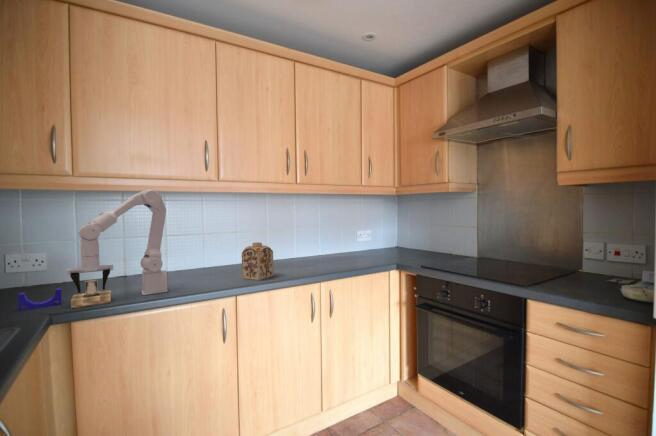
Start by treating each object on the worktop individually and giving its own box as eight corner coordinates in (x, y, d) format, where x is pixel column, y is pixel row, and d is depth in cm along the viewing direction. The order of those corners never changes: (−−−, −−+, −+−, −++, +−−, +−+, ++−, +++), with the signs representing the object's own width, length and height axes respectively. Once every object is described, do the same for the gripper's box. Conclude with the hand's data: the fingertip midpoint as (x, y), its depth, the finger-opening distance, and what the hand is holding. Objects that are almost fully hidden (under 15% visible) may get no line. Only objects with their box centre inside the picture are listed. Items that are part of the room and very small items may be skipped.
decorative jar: (241, 278, 166) (240, 243, 165) (256, 274, 176) (255, 241, 175) (260, 281, 160) (259, 244, 160) (274, 276, 170) (273, 241, 170)
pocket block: (110, 297, 134) (110, 290, 134) (110, 303, 126) (110, 295, 126) (73, 302, 128) (73, 294, 128) (71, 308, 119) (70, 300, 119)
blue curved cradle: (62, 302, 129) (61, 287, 129) (61, 305, 125) (61, 289, 125) (20, 308, 122) (20, 292, 122) (18, 311, 118) (18, 294, 118)
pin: (99, 299, 130) (98, 279, 129) (98, 301, 126) (97, 281, 126) (86, 301, 128) (85, 280, 127) (85, 303, 124) (84, 282, 124)
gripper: (112, 252, 134) (114, 286, 134) (67, 256, 126) (69, 291, 126) (112, 254, 128) (114, 289, 128) (65, 258, 120) (66, 295, 120)
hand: (91, 290), depth 127 cm, fingers open, 7 cm apart
